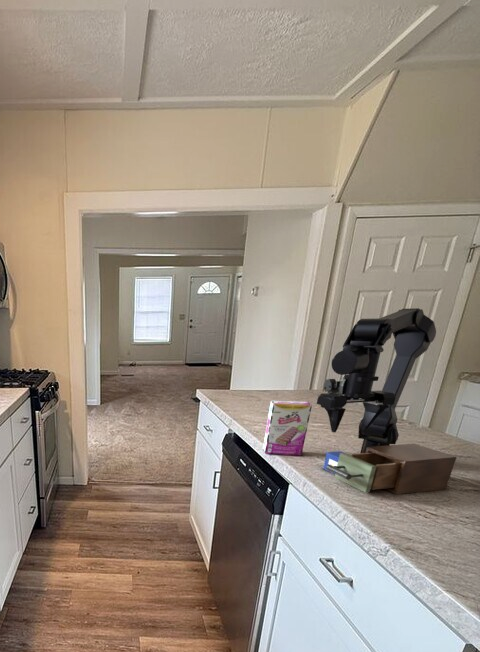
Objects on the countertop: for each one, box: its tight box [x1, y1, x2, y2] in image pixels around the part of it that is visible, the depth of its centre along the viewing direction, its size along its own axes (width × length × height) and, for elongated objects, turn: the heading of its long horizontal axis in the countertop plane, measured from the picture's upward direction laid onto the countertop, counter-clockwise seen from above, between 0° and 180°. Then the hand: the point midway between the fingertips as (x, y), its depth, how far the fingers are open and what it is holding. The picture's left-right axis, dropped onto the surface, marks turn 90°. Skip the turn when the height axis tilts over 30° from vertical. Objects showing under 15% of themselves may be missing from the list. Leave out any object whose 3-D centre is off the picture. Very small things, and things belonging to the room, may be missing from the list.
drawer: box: [326, 452, 402, 494], centre depth 101 cm, size 18×10×7 cm, turn 100°
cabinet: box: [366, 443, 458, 495], centre depth 103 cm, size 15×12×9 cm
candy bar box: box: [262, 400, 313, 456], centre depth 126 cm, size 11×5×16 cm, turn 78°
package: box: [323, 450, 347, 475], centre depth 111 cm, size 7×4×5 cm, turn 10°
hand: (348, 431), depth 108 cm, fingers open, 9 cm apart
